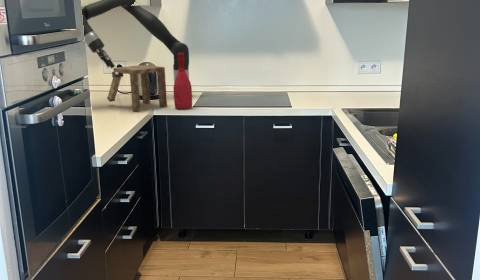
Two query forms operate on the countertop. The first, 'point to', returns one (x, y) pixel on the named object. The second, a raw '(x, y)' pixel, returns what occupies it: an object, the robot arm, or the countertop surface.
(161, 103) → the walnut stool
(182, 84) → the red bottle
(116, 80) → the oak leg
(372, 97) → the countertop surface
